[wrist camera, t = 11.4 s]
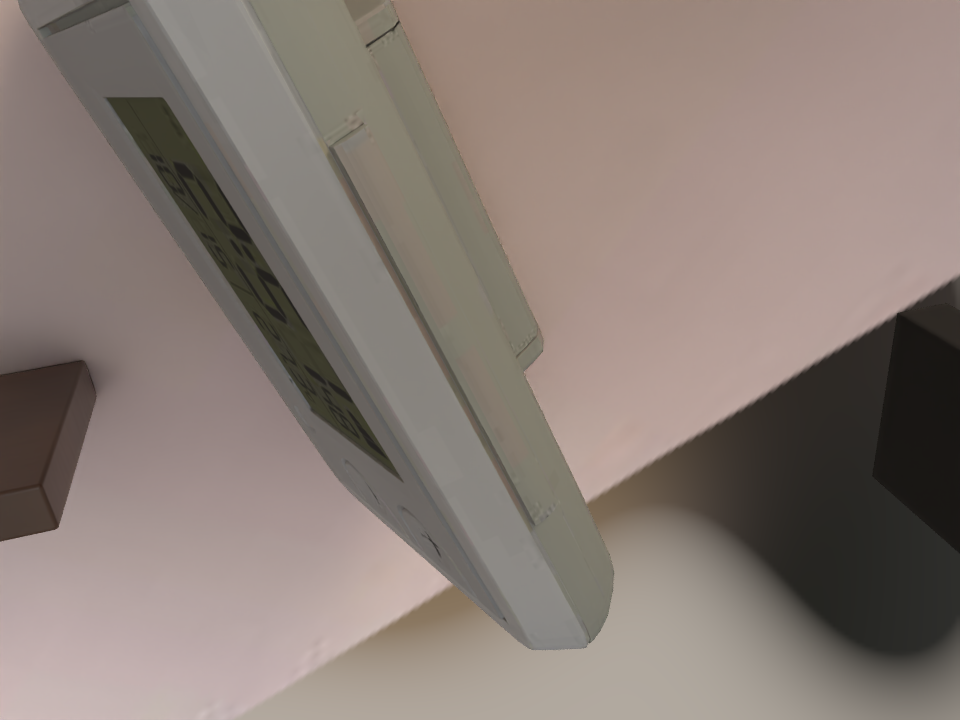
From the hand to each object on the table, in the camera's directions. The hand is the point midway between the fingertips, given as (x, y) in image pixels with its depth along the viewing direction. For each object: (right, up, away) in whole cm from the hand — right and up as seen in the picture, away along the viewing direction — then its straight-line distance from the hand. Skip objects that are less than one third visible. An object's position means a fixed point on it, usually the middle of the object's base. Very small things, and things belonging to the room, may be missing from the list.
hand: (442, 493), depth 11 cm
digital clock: (-4, +6, +12) cm, 14 cm away
